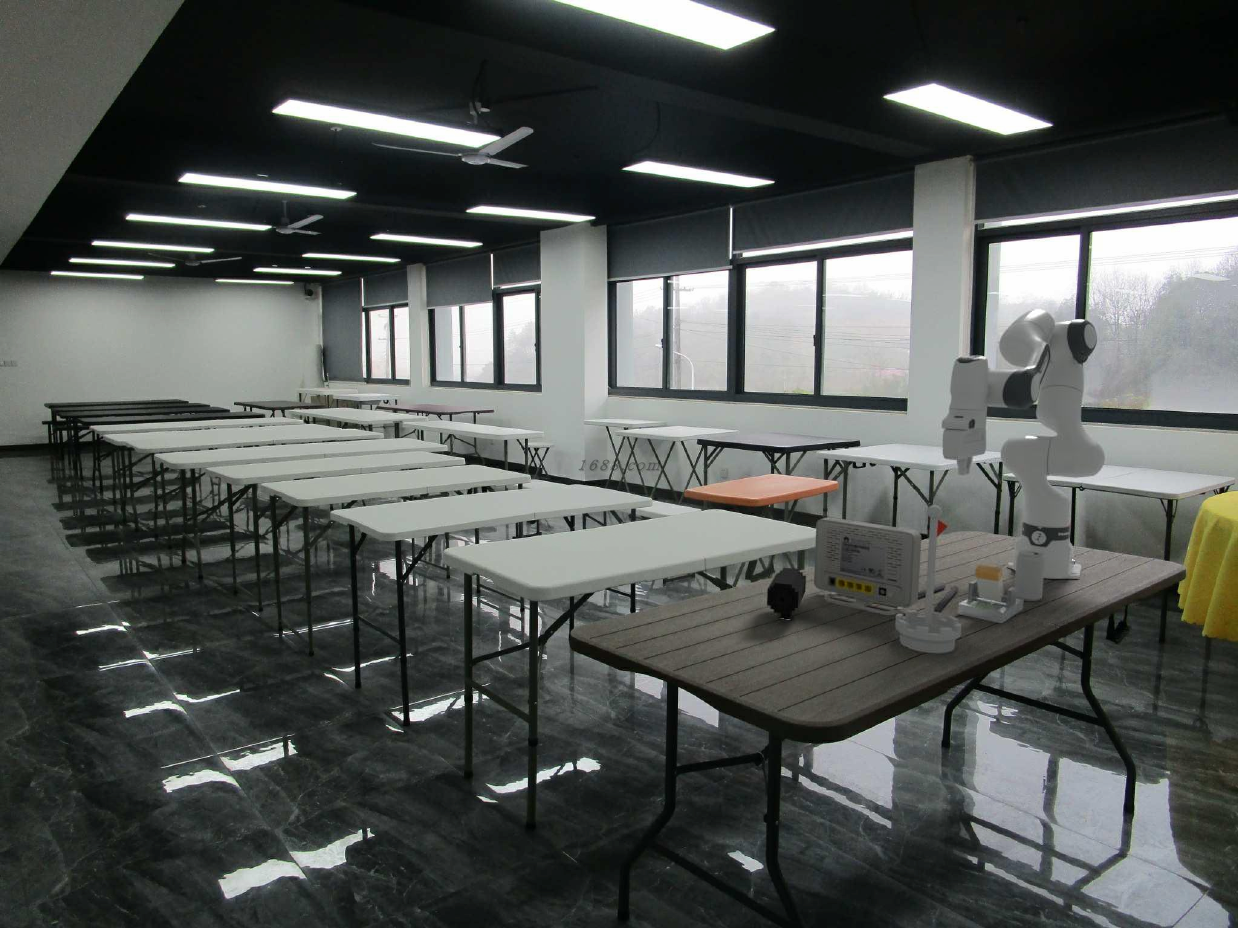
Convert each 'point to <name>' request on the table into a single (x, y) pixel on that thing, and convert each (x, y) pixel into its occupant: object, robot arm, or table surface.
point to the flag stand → (929, 607)
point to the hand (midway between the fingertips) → (963, 474)
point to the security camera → (786, 591)
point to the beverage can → (1029, 575)
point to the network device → (867, 563)
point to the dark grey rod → (946, 599)
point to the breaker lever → (990, 583)
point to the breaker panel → (990, 605)
